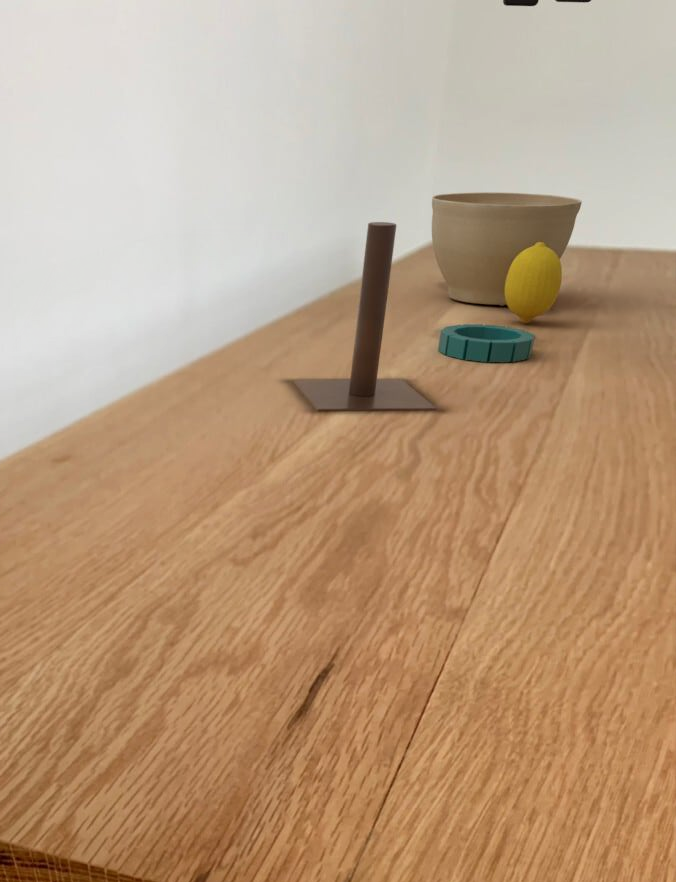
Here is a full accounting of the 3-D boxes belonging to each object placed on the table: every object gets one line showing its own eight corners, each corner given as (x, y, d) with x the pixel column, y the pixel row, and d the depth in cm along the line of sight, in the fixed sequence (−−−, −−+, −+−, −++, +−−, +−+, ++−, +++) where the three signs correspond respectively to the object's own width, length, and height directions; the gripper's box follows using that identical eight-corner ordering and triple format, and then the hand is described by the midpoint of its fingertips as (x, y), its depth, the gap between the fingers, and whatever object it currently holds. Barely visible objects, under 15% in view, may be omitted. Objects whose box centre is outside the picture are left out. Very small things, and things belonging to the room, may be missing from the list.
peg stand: (399, 397, 91) (424, 216, 84) (433, 428, 83) (464, 231, 76) (291, 398, 90) (307, 216, 83) (315, 429, 82) (335, 231, 75)
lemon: (552, 330, 115) (569, 246, 111) (497, 326, 117) (512, 243, 112) (552, 320, 120) (568, 240, 115) (499, 317, 121) (513, 237, 117)
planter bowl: (537, 289, 137) (556, 191, 131) (579, 314, 123) (602, 206, 117) (406, 287, 137) (420, 189, 132) (434, 311, 123) (450, 203, 118)
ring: (510, 343, 109) (514, 324, 108) (544, 362, 102) (548, 342, 101) (427, 343, 109) (430, 324, 108) (455, 363, 102) (458, 342, 101)
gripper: (698, -278, 81) (638, 1, 91) (581, -229, 96) (539, 8, 105) (604, -284, 80) (552, -1, 89) (499, -233, 95) (464, 6, 104)
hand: (545, 3), depth 97 cm, fingers open, 9 cm apart
